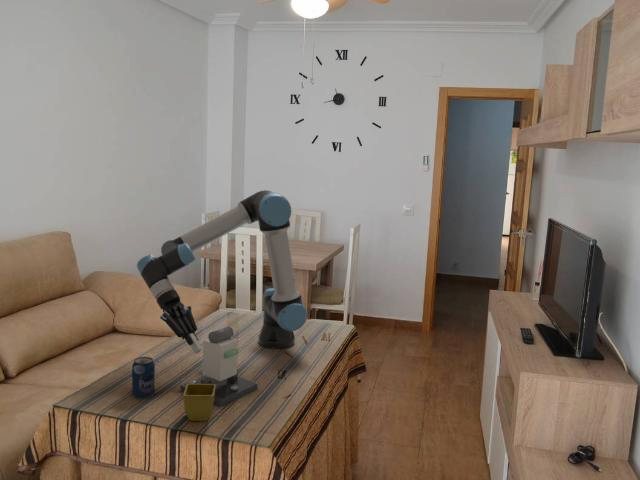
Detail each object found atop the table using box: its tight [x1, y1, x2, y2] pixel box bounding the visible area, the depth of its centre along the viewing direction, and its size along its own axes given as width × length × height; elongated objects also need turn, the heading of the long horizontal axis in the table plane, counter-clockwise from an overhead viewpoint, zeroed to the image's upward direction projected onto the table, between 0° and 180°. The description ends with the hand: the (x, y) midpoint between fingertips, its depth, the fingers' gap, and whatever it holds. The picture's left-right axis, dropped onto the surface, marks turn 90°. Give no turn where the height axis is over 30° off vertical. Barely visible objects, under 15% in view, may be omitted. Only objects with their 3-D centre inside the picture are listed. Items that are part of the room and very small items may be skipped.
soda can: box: [131, 356, 156, 400], centre depth 192 cm, size 7×7×12 cm
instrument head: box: [202, 326, 239, 384], centre depth 198 cm, size 10×10×18 cm
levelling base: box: [179, 368, 259, 408], centre depth 200 cm, size 18×18×6 cm
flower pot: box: [182, 384, 216, 422], centre depth 179 cm, size 9×9×9 cm
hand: (198, 351), depth 204 cm, fingers closed
